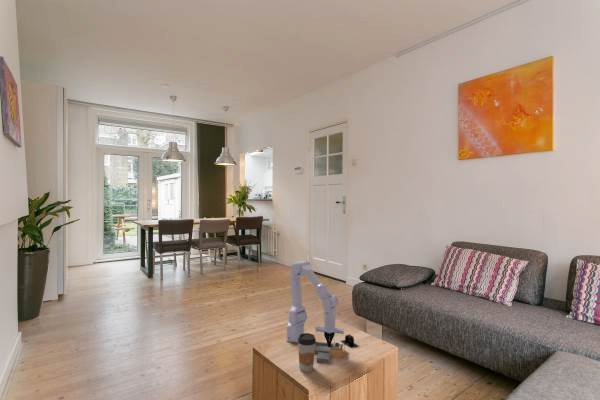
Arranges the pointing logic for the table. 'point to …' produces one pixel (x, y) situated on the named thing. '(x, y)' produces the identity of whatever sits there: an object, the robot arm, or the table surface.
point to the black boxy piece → (349, 341)
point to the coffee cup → (306, 351)
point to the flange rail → (329, 349)
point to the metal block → (336, 346)
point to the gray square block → (323, 357)
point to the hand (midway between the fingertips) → (329, 346)
